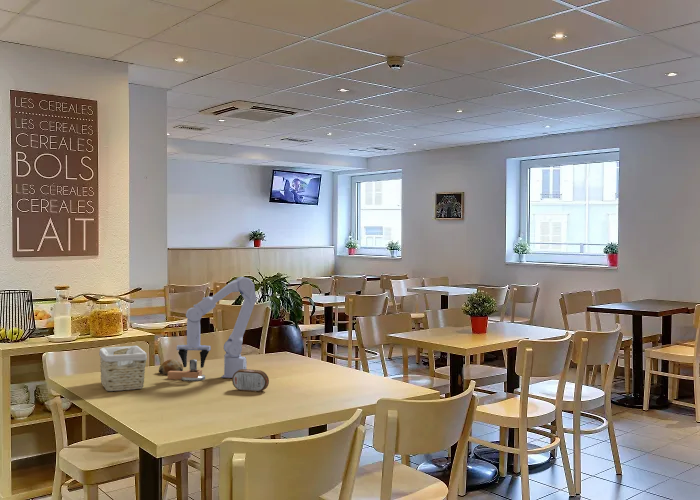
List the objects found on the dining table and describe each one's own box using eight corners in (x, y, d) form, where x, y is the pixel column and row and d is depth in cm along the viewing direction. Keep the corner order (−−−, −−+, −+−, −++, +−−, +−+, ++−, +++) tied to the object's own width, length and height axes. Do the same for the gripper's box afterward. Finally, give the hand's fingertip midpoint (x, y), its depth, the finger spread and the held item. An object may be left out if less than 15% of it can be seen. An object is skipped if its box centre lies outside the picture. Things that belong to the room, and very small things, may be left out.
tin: (269, 391, 262) (269, 370, 262) (266, 393, 259) (266, 371, 259) (234, 388, 266) (234, 368, 266) (230, 390, 263) (231, 369, 263)
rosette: (208, 377, 289) (208, 374, 289) (200, 381, 279) (200, 378, 279) (186, 376, 290) (186, 373, 290) (177, 381, 280) (177, 378, 280)
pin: (197, 375, 286) (197, 359, 286) (195, 377, 283) (195, 360, 283) (191, 375, 286) (191, 359, 286) (188, 376, 283) (188, 360, 283)
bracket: (202, 377, 287) (202, 370, 287) (197, 380, 282) (197, 372, 282) (171, 376, 289) (171, 369, 289) (166, 379, 283) (166, 371, 283)
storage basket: (98, 382, 278) (98, 346, 278) (138, 378, 285) (138, 344, 285) (104, 393, 256) (104, 355, 256) (147, 389, 263) (147, 352, 263)
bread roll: (174, 383, 293) (182, 367, 293) (154, 373, 293) (161, 357, 293) (180, 379, 303) (188, 363, 303) (160, 369, 303) (168, 353, 303)
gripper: (173, 336, 282) (173, 368, 282) (207, 337, 280) (206, 369, 280) (179, 334, 289) (179, 365, 289) (212, 334, 287) (212, 366, 287)
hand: (193, 367), depth 285 cm, fingers open, 7 cm apart
